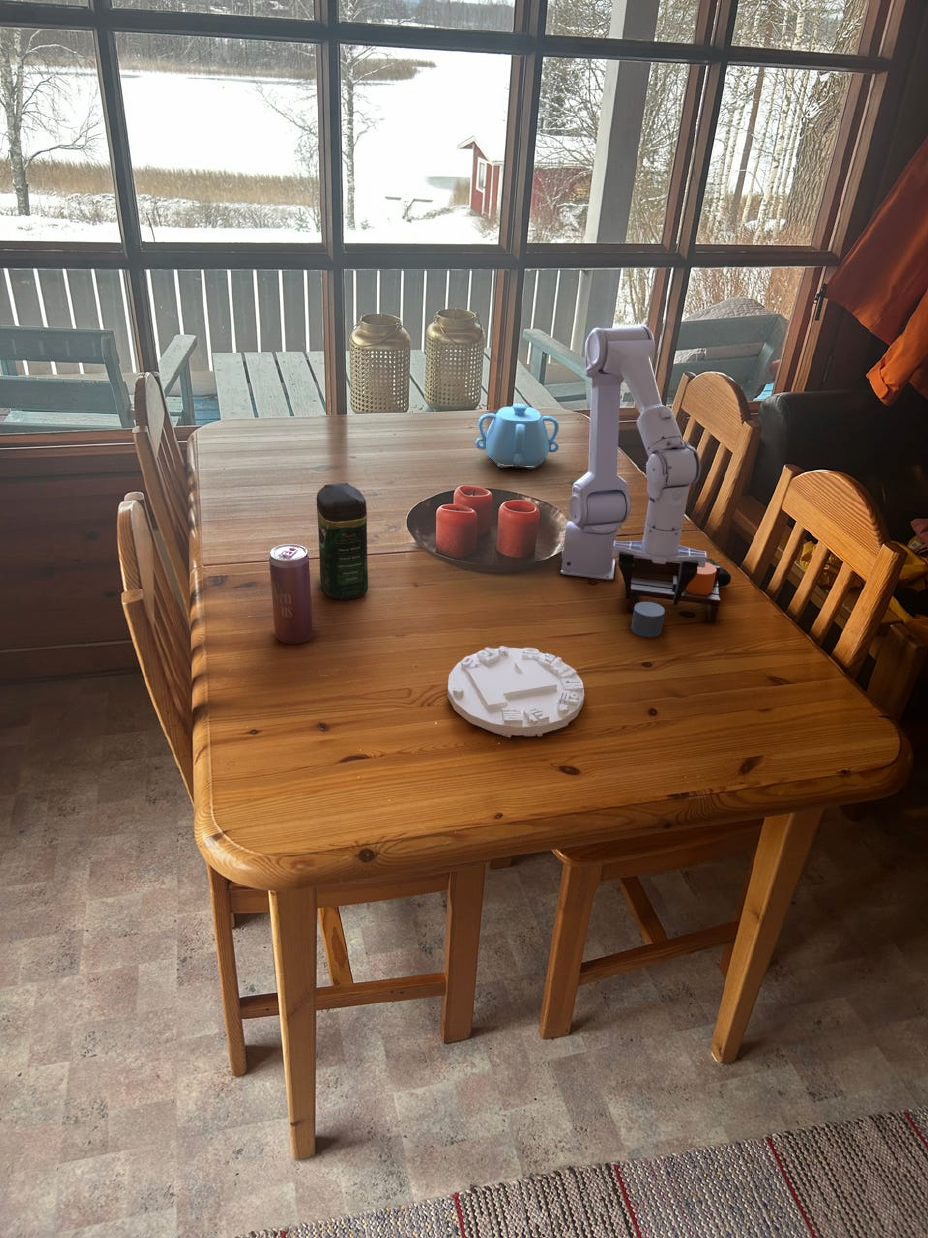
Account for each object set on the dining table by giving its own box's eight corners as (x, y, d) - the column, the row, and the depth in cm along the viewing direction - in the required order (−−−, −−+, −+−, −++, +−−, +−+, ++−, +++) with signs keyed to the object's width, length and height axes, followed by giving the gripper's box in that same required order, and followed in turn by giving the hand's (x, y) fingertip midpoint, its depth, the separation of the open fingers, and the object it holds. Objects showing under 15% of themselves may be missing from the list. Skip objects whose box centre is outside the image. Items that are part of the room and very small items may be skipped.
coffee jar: (373, 598, 158) (372, 498, 148) (328, 604, 155) (323, 504, 146) (359, 572, 166) (357, 476, 156) (316, 578, 163) (311, 481, 154)
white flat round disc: (450, 656, 143) (451, 641, 141) (576, 662, 143) (578, 647, 141) (444, 736, 126) (445, 719, 124) (587, 743, 126) (590, 726, 124)
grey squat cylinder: (630, 635, 151) (633, 614, 149) (631, 620, 155) (634, 599, 153) (661, 639, 150) (664, 618, 148) (661, 624, 154) (665, 603, 152)
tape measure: (730, 590, 165) (734, 572, 163) (697, 595, 163) (700, 576, 161) (710, 573, 171) (714, 555, 169) (677, 577, 169) (681, 559, 167)
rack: (626, 612, 157) (631, 578, 154) (628, 587, 165) (633, 555, 161) (715, 623, 155) (722, 590, 152) (713, 598, 162) (720, 565, 159)
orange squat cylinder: (683, 593, 155) (686, 572, 153) (682, 579, 160) (686, 559, 158) (713, 596, 155) (717, 576, 153) (712, 583, 159) (716, 562, 157)
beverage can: (319, 630, 148) (315, 547, 141) (302, 648, 143) (296, 564, 136) (286, 623, 150) (280, 540, 142) (268, 641, 145) (261, 556, 137)
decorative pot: (564, 465, 215) (570, 409, 208) (512, 479, 206) (516, 420, 199) (519, 444, 226) (524, 390, 219) (468, 456, 217) (470, 400, 210)
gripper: (615, 528, 140) (605, 605, 147) (712, 539, 138) (697, 617, 145) (618, 510, 146) (608, 584, 153) (710, 520, 144) (696, 595, 151)
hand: (651, 599), depth 149 cm, fingers open, 7 cm apart
